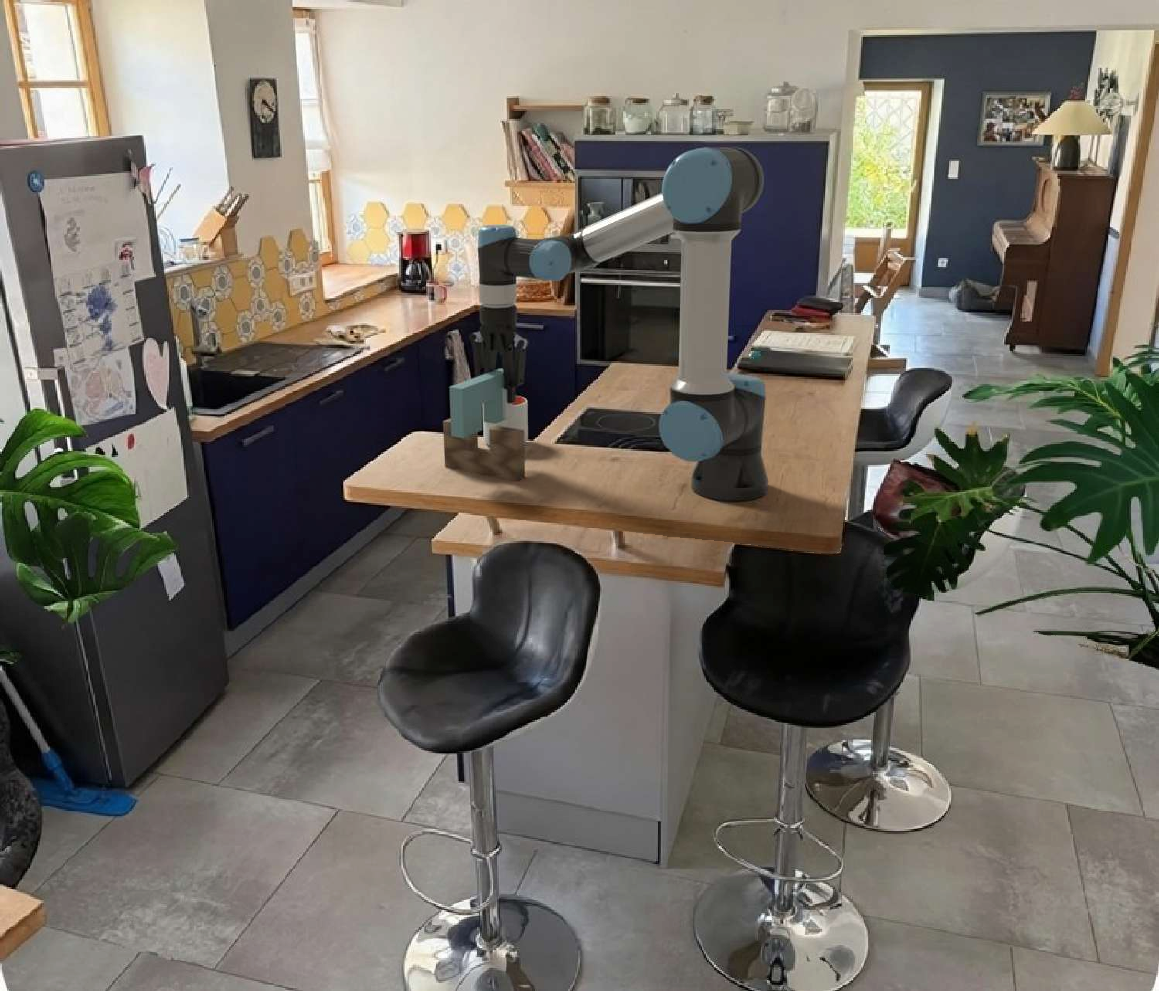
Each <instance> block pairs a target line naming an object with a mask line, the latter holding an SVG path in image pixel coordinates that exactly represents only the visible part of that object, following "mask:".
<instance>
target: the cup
mask: <svg viewBox="0 0 1159 991" xmlns="http://www.w3.org/2000/svg"><path fill="white" fill-rule="evenodd" d="M528 406H529V404H528V400H527V398H525V397H523V396H519V395H516V400H515V402H514V403H513V417H511V418H508V419H506V420H504V421H502V422H499V423H497V424H493V423H488V422H484V407H483V406H482V430H483V441H484V443H485V444H486V445H488V446H489V447H490V440H489V429H491V428H493V427H495V426H502V427H508V428H514V429H520V430H524V444H526V443H527V441H528V439H529V425H528V424H529V422H528V420H529V419H528V416H529V414H528V408H529V407H528Z"/></svg>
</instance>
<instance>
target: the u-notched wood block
mask: <svg viewBox="0 0 1159 991" xmlns="http://www.w3.org/2000/svg"><path fill="white" fill-rule="evenodd" d="M442 426H443V428H442V429H443V449H444V450H443V451H444V467H445V468H450V469H455V470H459V471H463V472H470V473H474V474H479V475H484V476H489V477H495V478H499V479H505V480H509V481H513V482H514V481H515V482H518V481H520V480H522V479H523V478H526V468H525V467H526V465H525V463H526V462H525V461H526V460H525V458H526V454H525V446H526V445H525V444H526V443H525V444H524V430H520V429H514V428H508V427H502V426H495V427H493V428H491V429H489V440H490V446H489V448H488V449H487V448H484V447H483V448H482V447H479V441H478V440H479V439H478V438H479V437H478V436H479V435H478V433H479V432H477V433H474V434H472V435H470V436H468V437H465V438H460V437H454V436H451V417H450V418H448V419H446V420H443V421H442Z"/></svg>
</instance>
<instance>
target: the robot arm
mask: <svg viewBox="0 0 1159 991" xmlns="http://www.w3.org/2000/svg"><path fill="white" fill-rule="evenodd" d="M764 179H765V178H764V172H763V168H762V166H761V163H760V162H759V161H758V158H756V157H755V156H754V155H753V154H752V153H751V152H750V151H748V150H746V149H744V148H741V147H737V146H726V147H706V146H704V147H700V148H699V147H698V148H695V149H692V150H688V151H686V152H683V153H682V154H680V155H679V156H677V157H675V159H674V160H673V161H672V162H671V163H670V164H669V166H668V168H667V169H666V171H665V173H664V177H663V180H662V185H661V193H658V194H656V195H654V196H651V197H650V198H649V197H648V199H644V200H643V201H641V202H639V203H635V204H634V205H632V206H630V207H627V208H625V209H623V210H621V211H618V212H616V213H614V214H611V215H610V216H607V217H604V218H603V219H600V220H599V221H595V222H594V223H592V224H589V225H587V226H585V227H583V228H581V229H578V230H576V231H573V232H572V233H568V234H564V235H558V236H553V237H552V236H551V237H546V238H536V239H535V238H522V237H517V229H516V227H515V226H513V225H507V224H487V225H483V226H481V227H480V228H479V230H478V236H477V258H478V260H477V261H478V275H479V278H478V299H479V303H480V304H481V305H480V306H479V322H480V323H481V325H480V328H479V331H476V332H474V333H471V334H469V336H468V338H469V340H470V343H471V346H472V353H473V355H472V356H473V365H474V366H473V368H474V376H475V377H478V376H481V375H484V374H486V373H489V372H492V371H494V370H496V366H497V358H498V354H499V357H500V358H501V365H502V369H503V373H504V379H505V386H504V388H502V404H503V419H508V418H510V417H512V416H513V403H514V402H515V400H516V396H517V395H516V388H517V387H519V386H522V385H523V384H525V372H526V359H527V358H526V357H527V348H528V346H529V344H530V340H529V338H526V337H525V338H523V337H522V336H520V335H519V332H518V330H517V322H518V311H517V310H518V307H517V306H516V303H517V297H518V296H517V278H524V279H532V280H533V279H534V280H539V281H542V282H549V281H553V282H559V281H561V280H564V279H565V276H567V275H568V274H571V273H576V272H577V273H578V272H585V271H588V270H592V269H593V268H595V267H596V266H597V265H599V264H600V263H602V262H605V261H607V260H609V259H611V258H614V257H617V256H619V255H622V254H623V253H626V252H628V251H631V250H633V249H636V248H638V247H641V246H643V245H646V244H648V243H650V242H652V241H655V240H657V239H660V238H662V237H664V236H667V235H669V234H671V233H674V234H675V236H677V237H678V238H679V239H680V241H681V242H680V243H681V249H680V251H681V254H680V255H681V257H680V259H681V260H680V262H681V263H680V298H679V299H680V301H679V302H680V303H679V304H680V305H679V306H680V307H679V309H680V310H679V350H678V351H679V352H678V354H679V355H678V375H677V377H676V378H675V379H674V380H673V381H672V382H671V383H670V386H669V387H670V388H669V404H668V405H667V406H666V407H665V408H664V410H663V411H662V413H661V415H660V417H659V422H658V431H659V436H660V438H661V440H662V443H663V445H664V446H665V448H667V449H668V450H669V451H670V453H671V454H672V455H673V456H675V457H676V458H677V459H678V458H679V460H682V461H685V462H692V463H696V464H695V466H694V468H693V471H692V474H691V478H690V479H691V484H690V485H691V486H690V487H691V490H692V491H693V492H694V493H696V494H698V495H700V496H702V497H706V498H709V499H713V500H717V501H726V502H728V501H729V502H741V501H740V500H745V501H751V499H752V500H755V498H756V499H758V498H757V497H759V498H761V496H762V497H764V496H765V495H766V494H767V493H768V488H769V479H768V475H767V471H766V467H765V463H764V460H763V459H764V458H763V455H762V444H763V432H764V422H765V421H764V420H765V419H764V418H765V410H766V409H765V407H766V400H767V395H766V384H765V381H764V380H763V379H761V378H759V377H757V376H753V375H746V374H739V373H728V372H727V371H728V370H727V367H728V345H729V344H728V341H729V316H730V314H729V312H730V310H729V309H730V289H731V288H730V286H731V285H730V284H731V264H732V263H731V261H732V260H731V258H732V240H733V239H734V238H735V237H736V236H737V235H738V234H739V233H740V232H741V230H742V229H741V227H742V214H744V213H745V212H747V211H748V210H750V209H751V208H752V207H754V205H755V204H756V203H757V201H758V200H759V199H760V197H761V194H762V192H763V188H764V184H765V183H764V182H765V181H764ZM484 343H485V344H484ZM513 344H514V346H513ZM514 347H515V349H514ZM513 353H514V355H513ZM513 356H514V357H513ZM475 377H474V378H475ZM766 492H767V493H766ZM765 493H766V494H765ZM764 494H765V495H764Z"/></svg>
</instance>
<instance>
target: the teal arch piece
mask: <svg viewBox="0 0 1159 991" xmlns="http://www.w3.org/2000/svg"><path fill="white" fill-rule="evenodd" d="M504 386H505V379H504V373H503V368H497V369H495V370H494V371H492V372H489V373H486V374H484V375H481V376H478V377H473V378H470V379H467V380H464V381H462V382H459V383H457V384H453V385H451V386H449V409H450V412H449V413H450V418H451V436H454V437H460V438H465V437H468V436H470V435H472V434H474V433H477V432H478V433H480V432H482V430H483V407H484V422H488V423H493V424H497V423H499V422H502V421H504V420H506V419H503V404H502V388H504ZM512 417H513V416H512ZM510 418H511V417H510Z"/></svg>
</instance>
